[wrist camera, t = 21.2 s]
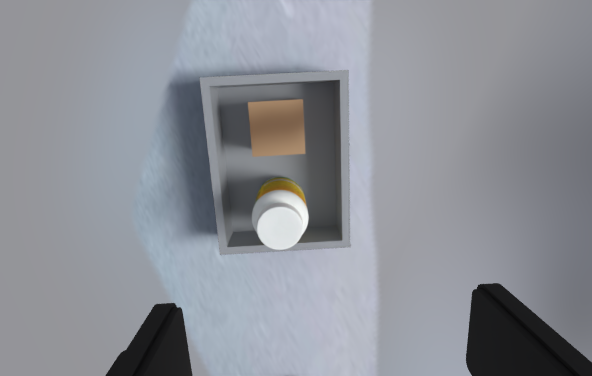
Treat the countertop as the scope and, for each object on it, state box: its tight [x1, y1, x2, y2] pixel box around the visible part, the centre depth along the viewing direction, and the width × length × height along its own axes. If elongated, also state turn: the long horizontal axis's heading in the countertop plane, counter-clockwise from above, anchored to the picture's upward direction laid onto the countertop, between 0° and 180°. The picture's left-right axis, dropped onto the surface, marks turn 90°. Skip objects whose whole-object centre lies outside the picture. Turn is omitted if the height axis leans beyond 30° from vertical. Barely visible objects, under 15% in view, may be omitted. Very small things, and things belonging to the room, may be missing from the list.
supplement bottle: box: [252, 176, 309, 250], centre depth 34 cm, size 5×5×10 cm
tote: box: [199, 70, 350, 255], centre depth 35 cm, size 18×14×5 cm
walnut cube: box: [248, 99, 305, 157], centre depth 34 cm, size 5×5×5 cm
